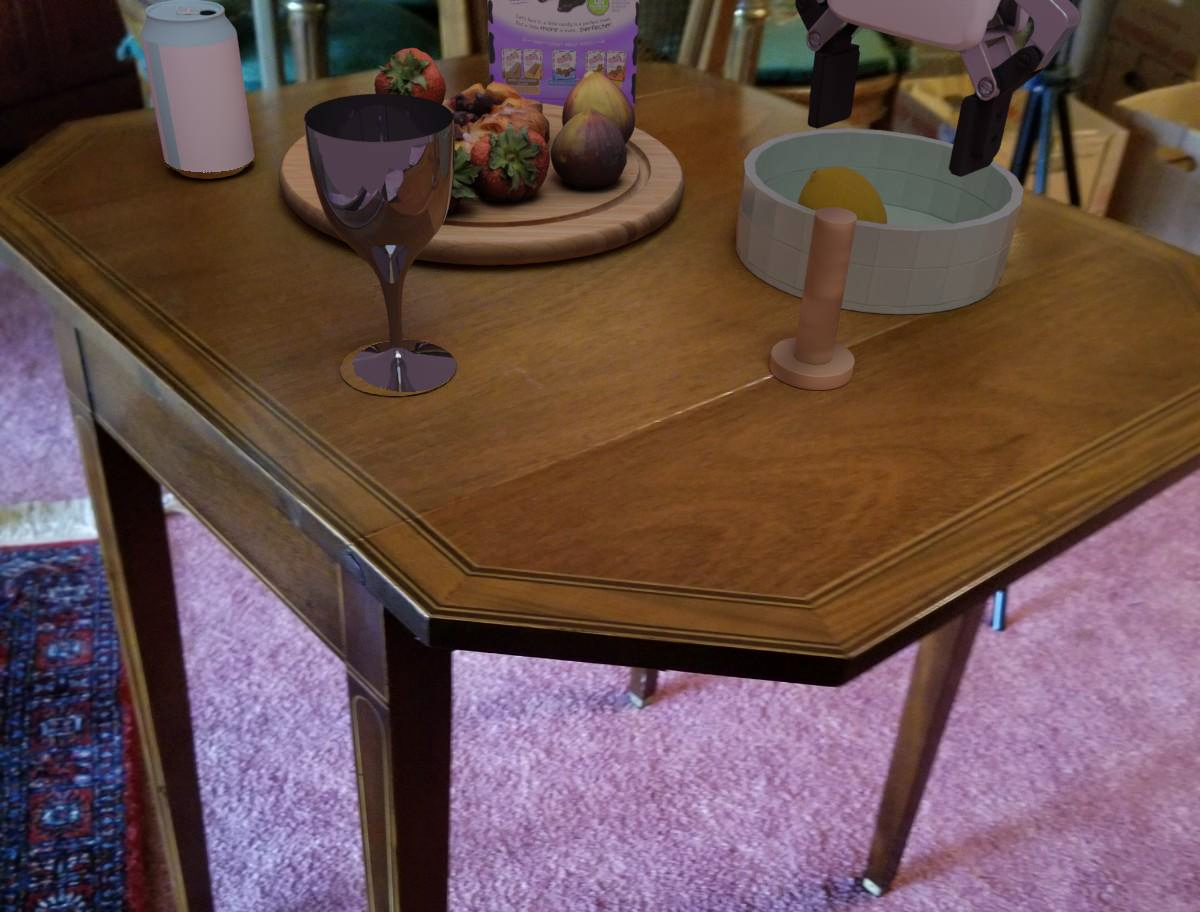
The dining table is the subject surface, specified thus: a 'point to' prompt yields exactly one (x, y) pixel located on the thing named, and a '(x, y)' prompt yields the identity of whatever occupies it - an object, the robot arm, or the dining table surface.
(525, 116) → the wooden plate
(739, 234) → the bowl
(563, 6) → the candy box
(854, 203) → the lemon
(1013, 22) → the robot arm
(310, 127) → the wine glass
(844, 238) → the stirrer
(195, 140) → the can
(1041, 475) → the dining table surface
